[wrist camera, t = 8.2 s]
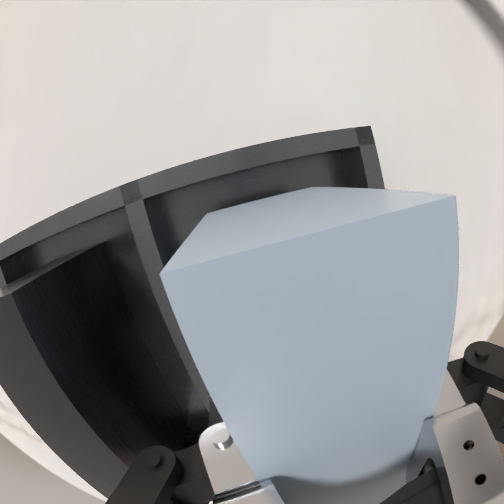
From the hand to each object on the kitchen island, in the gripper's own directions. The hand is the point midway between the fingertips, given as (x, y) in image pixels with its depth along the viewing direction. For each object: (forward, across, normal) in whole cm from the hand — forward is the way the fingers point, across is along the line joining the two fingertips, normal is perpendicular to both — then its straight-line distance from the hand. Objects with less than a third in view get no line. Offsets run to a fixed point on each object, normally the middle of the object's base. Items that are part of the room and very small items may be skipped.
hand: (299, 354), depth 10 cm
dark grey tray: (+4, +5, 0) cm, 6 cm away
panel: (+1, 0, 0) cm, 1 cm away
